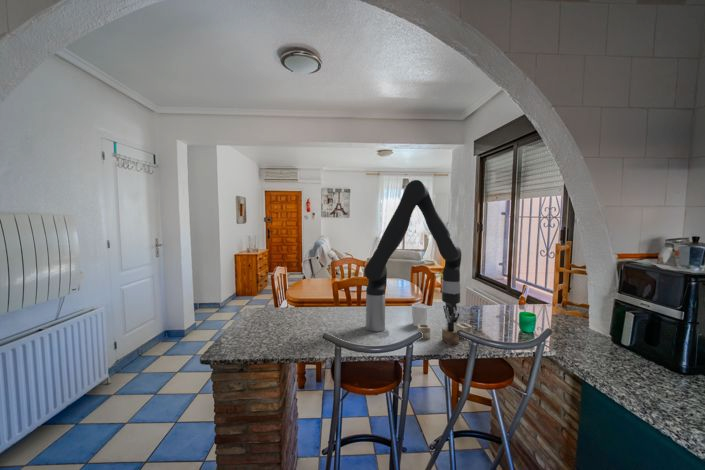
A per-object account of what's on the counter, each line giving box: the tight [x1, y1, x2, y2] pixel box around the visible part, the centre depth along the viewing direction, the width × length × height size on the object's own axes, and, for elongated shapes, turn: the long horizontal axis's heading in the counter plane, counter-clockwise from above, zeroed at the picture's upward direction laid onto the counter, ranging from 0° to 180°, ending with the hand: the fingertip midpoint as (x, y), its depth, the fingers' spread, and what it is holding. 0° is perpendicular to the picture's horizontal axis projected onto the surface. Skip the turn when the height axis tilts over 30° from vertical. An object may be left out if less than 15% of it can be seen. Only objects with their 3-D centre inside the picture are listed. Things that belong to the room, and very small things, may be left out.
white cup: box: [411, 302, 429, 327], centre depth 142 cm, size 8×8×10 cm
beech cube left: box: [416, 323, 431, 340], centre depth 127 cm, size 5×5×5 cm
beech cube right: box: [455, 322, 474, 334], centre depth 128 cm, size 5×5×5 cm
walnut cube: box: [441, 327, 460, 345], centre depth 121 cm, size 5×5×5 cm
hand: (450, 330), depth 121 cm, fingers closed
